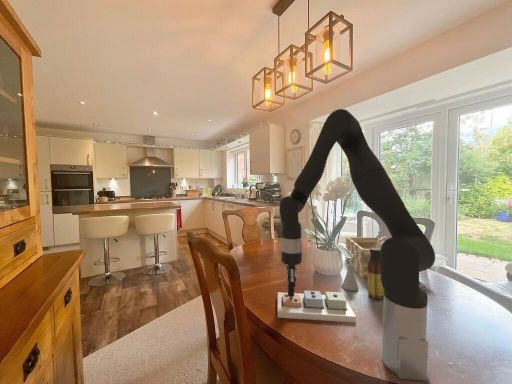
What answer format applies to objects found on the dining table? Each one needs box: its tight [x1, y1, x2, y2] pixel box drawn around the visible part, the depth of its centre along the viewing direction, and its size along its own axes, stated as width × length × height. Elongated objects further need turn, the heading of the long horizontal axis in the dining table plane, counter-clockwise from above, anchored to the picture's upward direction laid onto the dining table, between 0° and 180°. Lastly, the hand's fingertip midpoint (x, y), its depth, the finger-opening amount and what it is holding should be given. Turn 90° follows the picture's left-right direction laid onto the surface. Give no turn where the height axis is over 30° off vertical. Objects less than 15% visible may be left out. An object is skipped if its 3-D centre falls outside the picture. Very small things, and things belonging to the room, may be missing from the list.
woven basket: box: [345, 236, 384, 279], centre depth 123 cm, size 26×26×14 cm
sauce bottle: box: [367, 248, 384, 301], centre depth 92 cm, size 6×6×20 cm
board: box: [277, 291, 357, 323], centre depth 84 cm, size 14×26×2 cm, turn 84°
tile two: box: [303, 290, 323, 309], centre depth 83 cm, size 6×6×3 cm
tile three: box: [282, 294, 301, 308], centre depth 84 cm, size 6×6×3 cm
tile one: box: [324, 291, 347, 310], centre depth 83 cm, size 6×6×3 cm
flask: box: [341, 264, 359, 292], centre depth 100 cm, size 7×7×10 cm
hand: (291, 295), depth 84 cm, fingers closed
